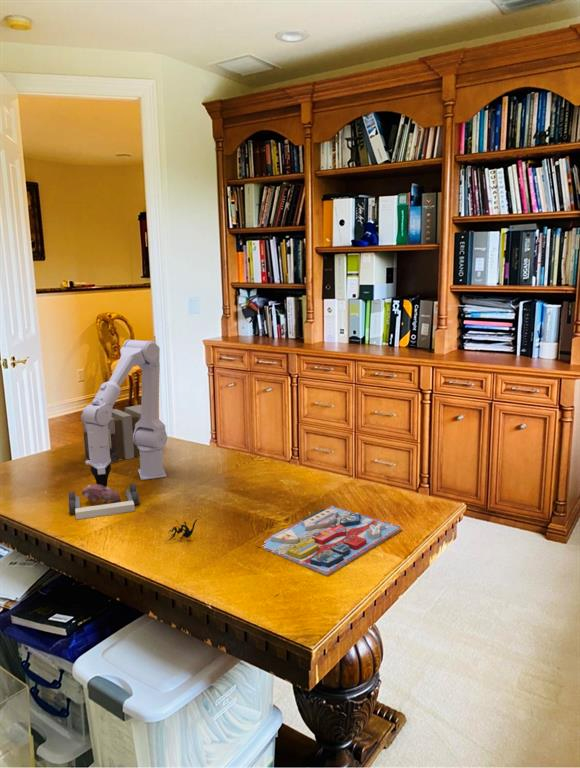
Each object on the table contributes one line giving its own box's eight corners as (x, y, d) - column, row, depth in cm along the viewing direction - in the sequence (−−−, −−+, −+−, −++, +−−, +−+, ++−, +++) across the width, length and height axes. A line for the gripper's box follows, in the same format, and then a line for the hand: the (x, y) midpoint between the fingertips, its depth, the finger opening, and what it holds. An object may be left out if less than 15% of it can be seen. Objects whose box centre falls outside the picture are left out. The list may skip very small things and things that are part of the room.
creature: (159, 545, 152) (182, 546, 147) (154, 524, 151) (177, 524, 147) (181, 533, 158) (203, 533, 153) (177, 513, 158) (199, 513, 153)
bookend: (164, 452, 220) (161, 409, 217) (97, 468, 205) (93, 421, 202) (144, 443, 232) (141, 401, 229) (79, 457, 217) (75, 413, 213)
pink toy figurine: (85, 506, 177) (77, 490, 172) (93, 494, 180) (84, 478, 176) (115, 510, 174) (107, 493, 170) (122, 497, 177) (115, 481, 173)
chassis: (69, 502, 176) (68, 490, 175) (135, 493, 182) (134, 481, 182) (69, 520, 164) (68, 508, 163) (140, 510, 170) (139, 498, 169)
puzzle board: (331, 509, 170) (331, 500, 170) (402, 532, 155) (402, 523, 155) (253, 548, 148) (252, 537, 148) (327, 579, 133) (327, 568, 132)
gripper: (83, 440, 181) (87, 483, 184) (84, 454, 168) (88, 500, 171) (108, 437, 184) (111, 480, 186) (111, 451, 170) (114, 497, 173)
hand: (102, 489), depth 179 cm, fingers closed
